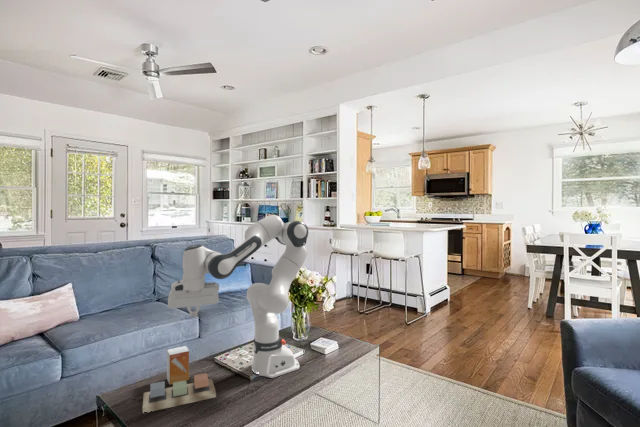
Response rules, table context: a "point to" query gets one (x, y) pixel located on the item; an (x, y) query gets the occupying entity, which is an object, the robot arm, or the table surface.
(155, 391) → the slate button
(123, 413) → the table surface
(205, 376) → the terracotta button
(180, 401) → the button board
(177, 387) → the sage button
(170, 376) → the small box
